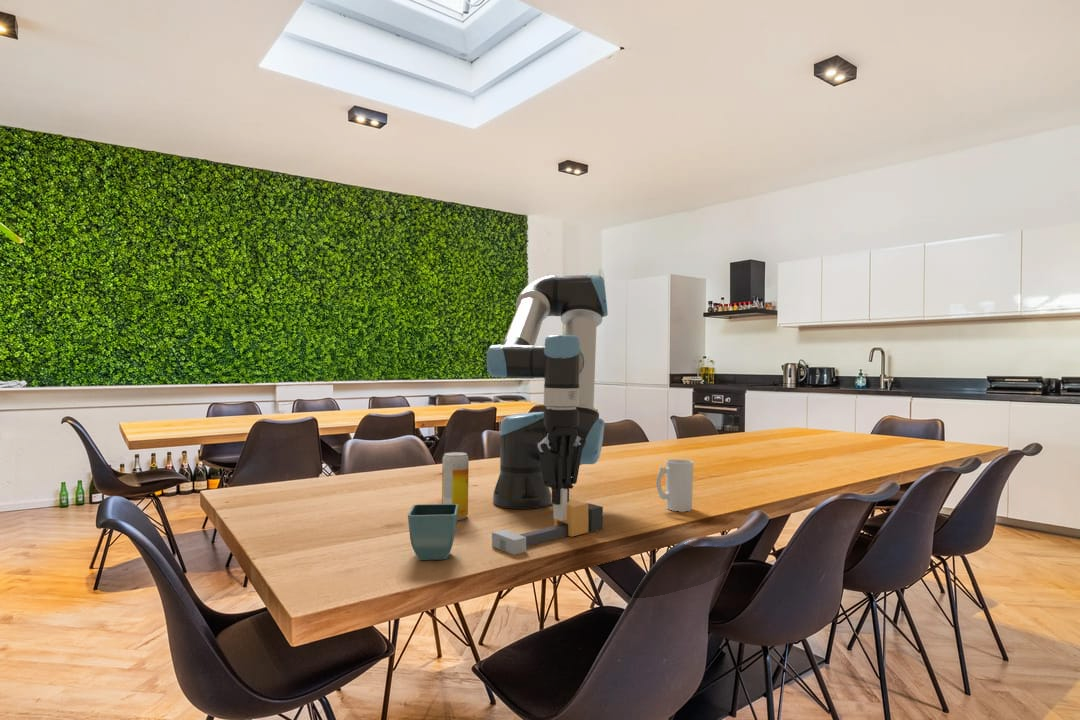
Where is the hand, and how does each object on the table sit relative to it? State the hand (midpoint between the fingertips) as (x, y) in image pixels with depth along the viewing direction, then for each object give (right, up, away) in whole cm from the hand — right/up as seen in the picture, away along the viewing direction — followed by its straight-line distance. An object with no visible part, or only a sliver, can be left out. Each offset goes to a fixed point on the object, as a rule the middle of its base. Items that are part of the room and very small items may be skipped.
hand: (560, 518), depth 130 cm
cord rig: (-2, -4, -2) cm, 4 cm away
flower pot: (-24, -4, -14) cm, 28 cm away
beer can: (-24, -4, +14) cm, 28 cm away
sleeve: (+2, -4, +2) cm, 5 cm away
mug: (+29, -4, +24) cm, 38 cm away
